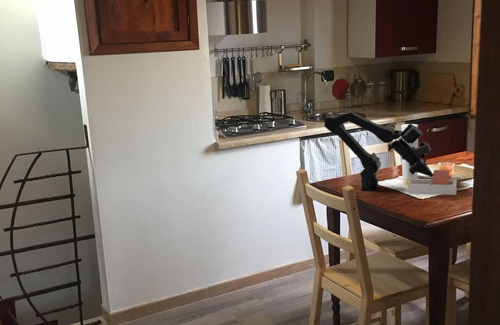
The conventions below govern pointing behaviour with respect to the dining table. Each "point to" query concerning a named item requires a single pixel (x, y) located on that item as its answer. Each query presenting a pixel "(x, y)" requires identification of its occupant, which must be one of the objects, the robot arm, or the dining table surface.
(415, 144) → the cylindrical container
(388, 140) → the robot arm
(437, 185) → the plug guide
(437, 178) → the plug
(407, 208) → the dining table surface
